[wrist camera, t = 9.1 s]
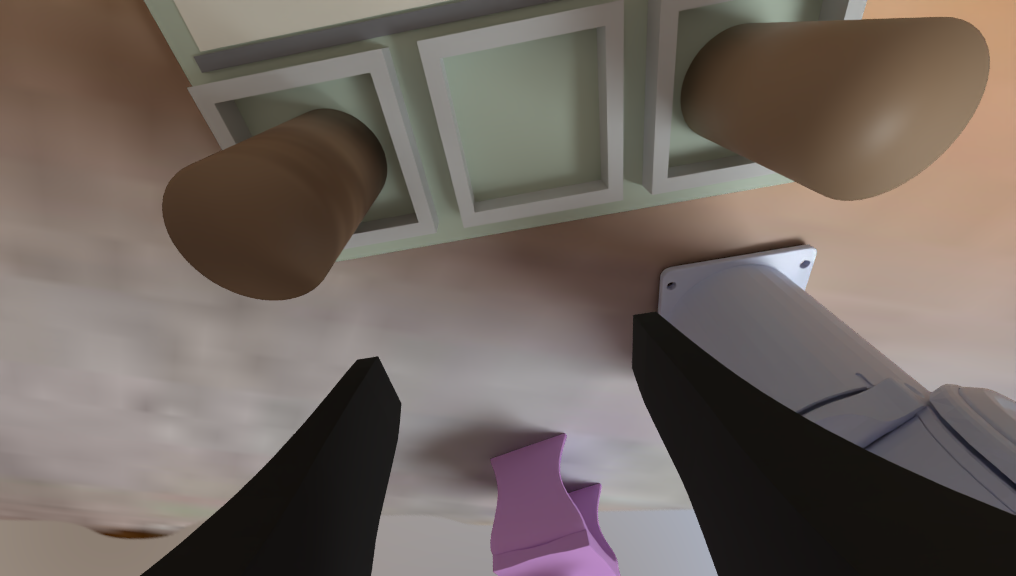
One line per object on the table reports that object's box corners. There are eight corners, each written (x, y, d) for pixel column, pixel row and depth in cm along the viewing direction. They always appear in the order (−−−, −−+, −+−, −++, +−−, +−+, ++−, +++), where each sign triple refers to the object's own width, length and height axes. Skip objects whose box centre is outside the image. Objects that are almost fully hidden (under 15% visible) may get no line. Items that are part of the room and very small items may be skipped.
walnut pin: (400, 198, 17) (356, 286, 11) (313, 215, 17) (224, 311, 11) (364, 98, 14) (285, 142, 9) (265, 120, 15) (122, 177, 9)
